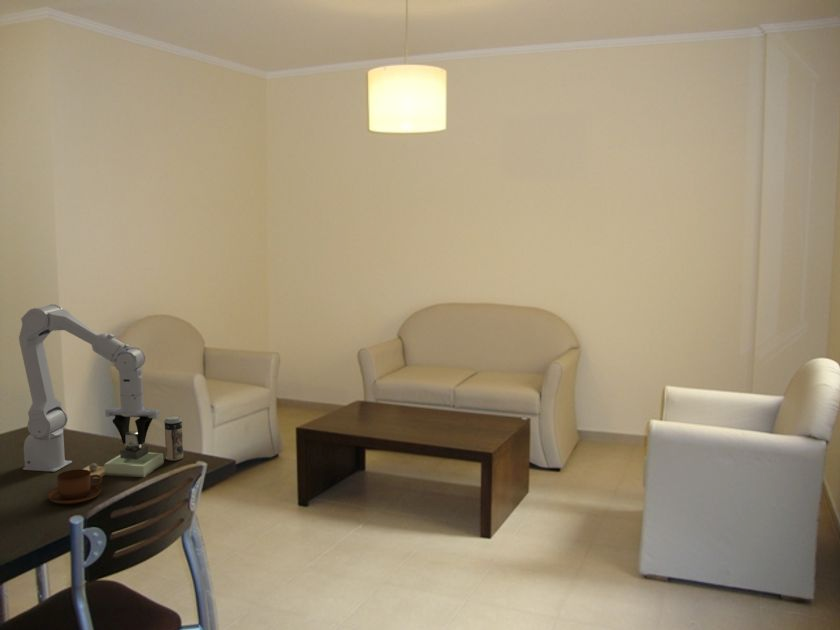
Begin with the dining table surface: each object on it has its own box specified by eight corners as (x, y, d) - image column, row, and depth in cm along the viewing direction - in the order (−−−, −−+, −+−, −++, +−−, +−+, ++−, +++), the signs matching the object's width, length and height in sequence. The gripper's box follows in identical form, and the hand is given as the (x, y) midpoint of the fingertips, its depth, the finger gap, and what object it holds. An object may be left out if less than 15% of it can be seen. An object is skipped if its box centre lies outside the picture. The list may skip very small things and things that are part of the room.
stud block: (73, 477, 197) (73, 466, 197) (88, 468, 204) (88, 458, 204) (98, 478, 196) (97, 468, 196) (113, 469, 203) (112, 459, 203)
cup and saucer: (86, 486, 192) (85, 462, 191) (111, 497, 184) (110, 473, 183) (38, 499, 182) (37, 475, 181) (62, 512, 175) (60, 487, 174)
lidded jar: (177, 462, 210) (176, 420, 208) (162, 460, 211) (160, 419, 209) (186, 456, 215) (185, 415, 213) (171, 455, 216) (169, 414, 214)
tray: (104, 474, 199) (104, 464, 199) (126, 461, 210) (126, 451, 210) (143, 477, 198) (143, 466, 197) (163, 463, 209) (163, 453, 208)
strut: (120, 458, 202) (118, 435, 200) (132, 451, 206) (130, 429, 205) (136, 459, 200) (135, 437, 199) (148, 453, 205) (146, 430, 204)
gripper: (98, 396, 198) (100, 446, 200) (149, 398, 196) (151, 448, 198) (112, 390, 205) (114, 438, 207) (162, 392, 203) (164, 441, 205)
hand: (133, 443), depth 203 cm, fingers closed on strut, 4 cm apart
